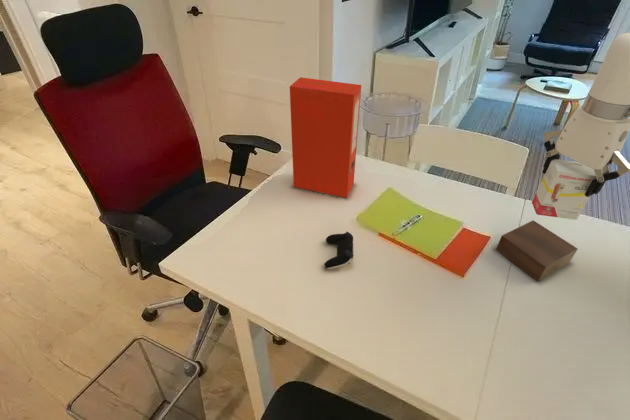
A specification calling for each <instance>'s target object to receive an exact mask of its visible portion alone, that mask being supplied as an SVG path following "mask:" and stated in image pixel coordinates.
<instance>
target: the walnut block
mask: <svg viewBox="0 0 630 420" xmlns="http://www.w3.org/2000/svg"><path fill="white" fill-rule="evenodd" d="M495 251H497V253H499V254H500V255H502V256H503V257H504V258H506V259H507V260H508V261H510V262H511V263H513V264H514V265H515V266H516V267H517V268H519V269H520V270H522V271H523V272H524V273H525V274H527V275H528V276H529V277H531V278H532V279H533V280H535V281H536V282H540V281H541V280H543V279H544V278H546V277H548V276H549V275H551V274H553V273H556V271H558V270H559V269H562V268H563V267H565V266H567V265H569V264H570V262H571V261H572V259H573V257H574V256H575V254H576V252H577V251H578V247H576V246H574V245H573V244H571V243H570V242H568V240H567V241H566V239H564V238H562V237H560V236H558V235H557V234H555V233H554V232H552V231H551V230H549V229H548V228H546V227H544V225H542V224H540V223H538V222H537V221H535V220H534V219H533V220H530V221H528V222H527V223H525V224H523V225H521V226H519V227H516V228H515V229H512V230H511V231H508V232H506V233H503V234H502V235H501V237H500V239H499V241H498V243H497V246H496V248H495Z"/></svg>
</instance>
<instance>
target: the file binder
mask: <svg viewBox="0 0 630 420" xmlns="http://www.w3.org/2000/svg"><path fill="white" fill-rule="evenodd" d="M361 95H362V84H357V83H356V84H355V83H350V82H349V83H348V82H342V81H341V82H339V81H331V80H325V79H317V78H308V77H299V78H298V79H296V80H295V81H294V82H293V83H292V84H291V85H289V103H290V104H289V107H290V127H291V129H290V131H291V153H292V155H291V156H292V177H293V178H292V179H293V187H294V188H297V189H302V190H306V191H312V192H317V193H322V194H326V195H331V196H336V197H340V198H345V199H347V198H348V197H349V196H350V193H351V191H352V190H353V187H354V183H355V174H356V173H355V172H356V160H357V158H356V157H357V145H358V134H359V133H358V132H359V121H360V109H361Z"/></svg>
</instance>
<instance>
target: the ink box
mask: <svg viewBox="0 0 630 420" xmlns="http://www.w3.org/2000/svg"><path fill="white" fill-rule="evenodd" d="M594 179H596V175H595V171H594V169H592V168H590V167H588V166H585V165H583V164H581V163H579V162H577V161H575V160H565V159H559V160H557V159H555V160H552V161H551V163H550V165H549V167H548V169H547V171H546V173H545V174H544V175H543V177H542V180H541V181H540V184H539V186H538V188H537V189H536V192H535V194H534V197H533V199H532V201H531V204H532V207H533V210H534V212H535V214H536V215H537V216H544V217H552V218H560V219H566V220H574V221H577V220H578V219H579V216H580V215H581V213H582V212H583V210H584V208H585V206H586V204H587V202H588V201H589V200H590V197H591V196H589V197H587V196H585V193H586V191H587V189H588V187H589V186H590V184H591V182H592V180H594Z"/></svg>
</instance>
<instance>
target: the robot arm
mask: <svg viewBox="0 0 630 420" xmlns="http://www.w3.org/2000/svg"><path fill="white" fill-rule="evenodd" d="M629 133H630V32H625V33H621V34H619V35H617V36H616V37H615V38H614V39H613V40H612V42H611V44H610V46H609V49H608V50H607V52H606V55H605V56H604V59H603V61H602V63H601V65H600V67H599V70H598V72H597V74H596V76H595V78H594V80H593V82H592V85H591V86H590V88H589V90H588V93H587V95H586V97H585V99H584V101H583V104H580V105H579V106H577V108H576V109H575V111H574V112H573V113H572V115H571V116H570V118H568V120H567V122H566V124H565V125H564V127H563V128H562V129H554V130H548V131H545V132H544V133H543V140H544V144H543V146H544V148H545V151H546V153H545V155H546V159H545V161H544V164H543V167H542V168H543V170H542V174H544V175H545V173H546V171H547V169H548V167H549V165H550V163H551V161H552V160H555V159H557V160H560V158H561V155H562V156H564V157H567V158H569V159H571V160H572V161H574V162H579V163H581V164H583V165H585V166H588V167H590V168H592V169H594V171H595V175H596V179H594V180H592V182H591V184H590V186H589V187H588V189H587V191H586V193H585V196H587V197H589V196H590V197H592V196H593V195H598V194H599V193H600V192H601V190H602V188H603V187H604V186H605V183H606V182H608V181H611V180H616V179H618V178H620V177H622V176H624V175H626V174H627V173H629V172H630V162H628V161H627V160H626V158H625V157H624V156H623V155H622V154H621V151H622V150H623V148H624V145H625V143H626V142H627V141H626V140H627V139H628V136H629ZM554 138H557V140H556V142H555V141H554ZM613 164H615V165H616V167H617V168H618V169H616V170H615V171H611V168H610V166H612V165H613ZM590 197H589V198H590Z"/></svg>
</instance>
